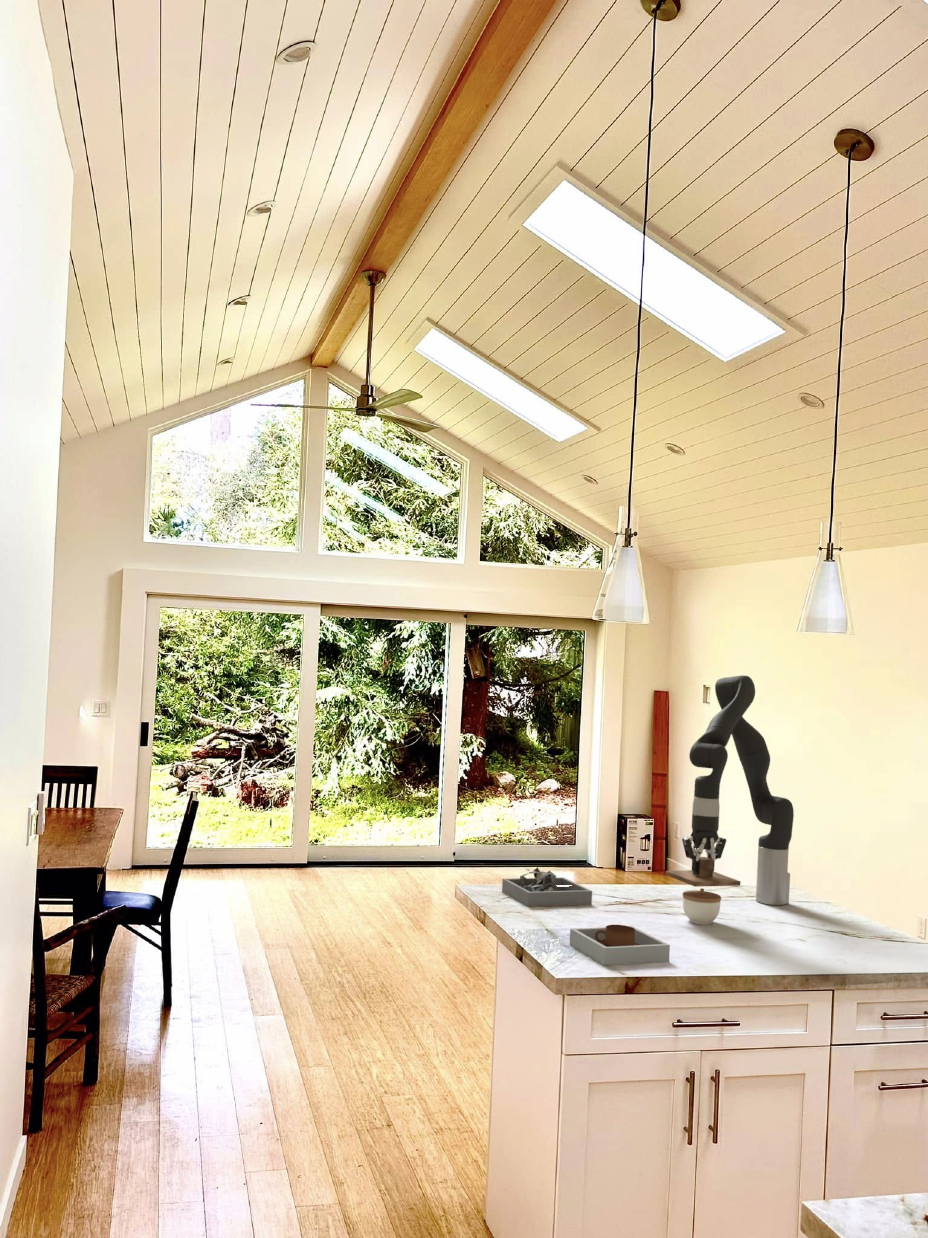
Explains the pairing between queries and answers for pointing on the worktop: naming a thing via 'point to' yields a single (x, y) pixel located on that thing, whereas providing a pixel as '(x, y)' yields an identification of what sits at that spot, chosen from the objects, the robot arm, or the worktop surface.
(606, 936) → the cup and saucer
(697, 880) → the walnut lid
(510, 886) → the foil frame
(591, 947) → the grey square tray
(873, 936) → the worktop surface
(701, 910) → the lidded jar
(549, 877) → the foil
